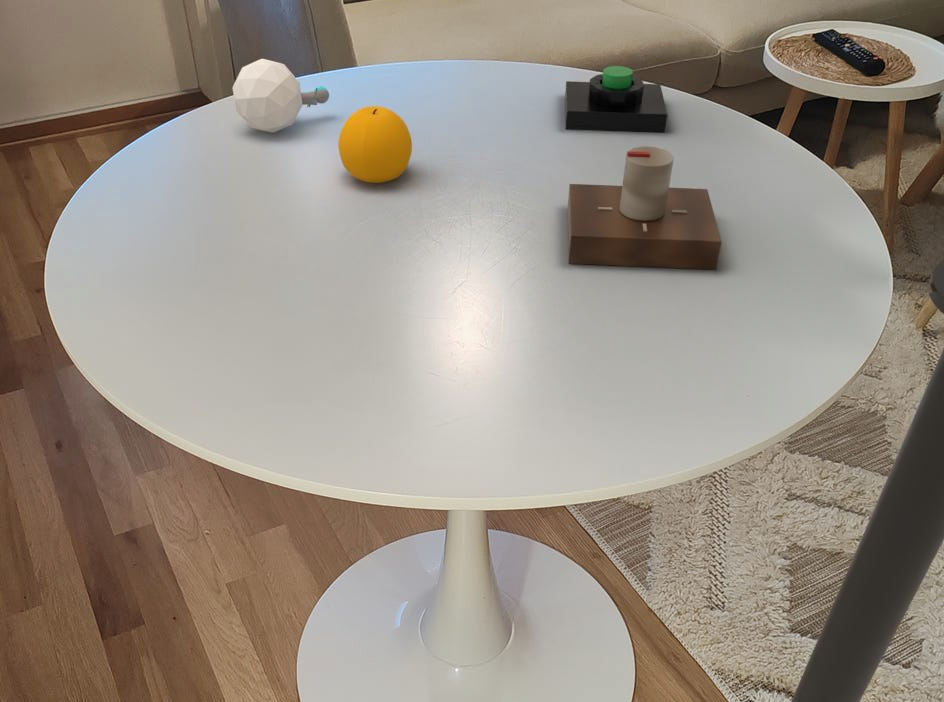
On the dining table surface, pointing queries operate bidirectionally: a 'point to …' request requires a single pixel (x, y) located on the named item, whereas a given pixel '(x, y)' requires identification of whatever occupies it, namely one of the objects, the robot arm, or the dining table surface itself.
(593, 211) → the dimmer panel
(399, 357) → the dining table surface
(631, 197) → the dimmer knob
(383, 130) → the orange fruit
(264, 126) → the perfume bottle
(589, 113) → the block
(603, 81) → the green push button
